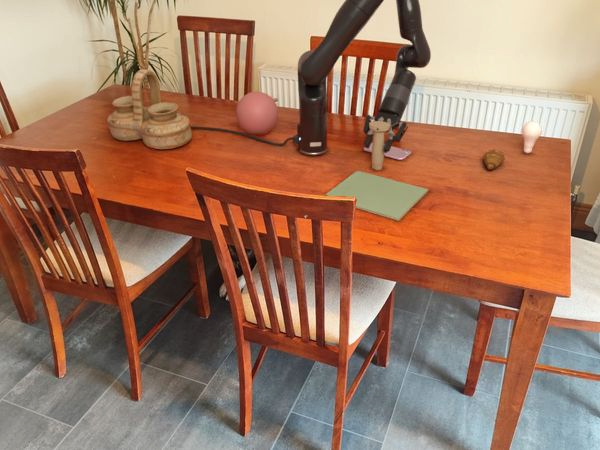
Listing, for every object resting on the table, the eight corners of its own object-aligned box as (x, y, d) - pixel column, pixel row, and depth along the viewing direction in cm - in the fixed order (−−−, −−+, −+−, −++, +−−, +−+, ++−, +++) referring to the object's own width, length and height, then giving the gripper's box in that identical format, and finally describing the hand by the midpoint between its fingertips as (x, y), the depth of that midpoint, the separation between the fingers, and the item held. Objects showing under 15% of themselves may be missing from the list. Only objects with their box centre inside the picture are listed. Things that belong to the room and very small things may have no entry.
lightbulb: (536, 150, 186) (543, 119, 180) (536, 157, 181) (543, 126, 175) (517, 148, 187) (523, 117, 182) (517, 155, 182) (523, 124, 177)
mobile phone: (373, 140, 193) (412, 150, 185) (373, 143, 193) (412, 153, 185) (362, 148, 187) (401, 158, 180) (362, 150, 188) (401, 161, 180)
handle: (369, 164, 179) (371, 120, 171) (388, 166, 177) (391, 122, 169) (365, 170, 175) (367, 125, 167) (385, 173, 173) (388, 128, 165)
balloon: (295, 127, 208) (294, 87, 200) (260, 144, 194) (257, 102, 186) (264, 119, 216) (262, 80, 208) (229, 135, 203) (225, 94, 195)
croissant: (500, 173, 171) (503, 159, 169) (478, 170, 174) (480, 155, 171) (506, 157, 182) (509, 143, 179) (485, 154, 184) (488, 140, 181)
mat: (323, 198, 160) (323, 195, 160) (357, 172, 174) (357, 170, 174) (398, 221, 148) (398, 218, 148) (428, 191, 162) (428, 189, 162)
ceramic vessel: (98, 138, 202) (83, 71, 189) (134, 122, 216) (122, 58, 203) (169, 156, 187) (158, 84, 174) (203, 137, 201) (195, 69, 188)
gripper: (371, 92, 174) (351, 139, 171) (413, 99, 167) (393, 149, 164) (378, 103, 180) (359, 149, 178) (419, 111, 173) (399, 159, 171)
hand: (375, 149), depth 171 cm, fingers open, 5 cm apart
